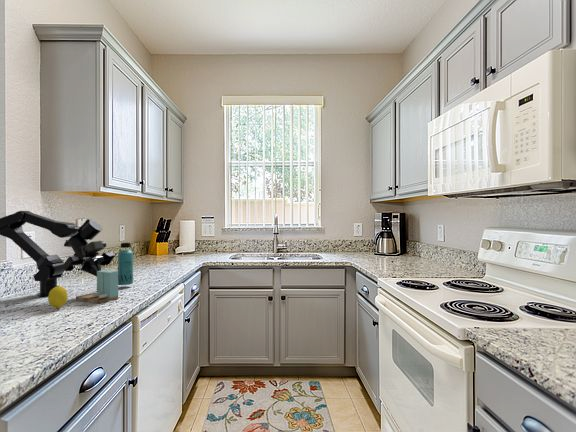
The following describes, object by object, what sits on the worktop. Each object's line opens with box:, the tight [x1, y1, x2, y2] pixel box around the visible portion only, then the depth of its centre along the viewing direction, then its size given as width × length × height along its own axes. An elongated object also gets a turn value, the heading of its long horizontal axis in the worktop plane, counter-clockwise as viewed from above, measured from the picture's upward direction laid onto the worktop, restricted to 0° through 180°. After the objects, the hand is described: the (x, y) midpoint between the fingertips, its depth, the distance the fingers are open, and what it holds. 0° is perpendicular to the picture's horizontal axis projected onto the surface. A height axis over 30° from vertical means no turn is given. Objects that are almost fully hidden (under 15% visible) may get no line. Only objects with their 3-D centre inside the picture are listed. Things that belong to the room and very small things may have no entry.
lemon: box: [47, 285, 69, 310], centre depth 114 cm, size 6×6×8 cm
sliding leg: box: [92, 269, 112, 297], centre depth 127 cm, size 4×6×10 cm, turn 157°
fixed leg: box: [99, 270, 119, 298], centre depth 125 cm, size 4×6×10 cm, turn 157°
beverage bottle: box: [117, 242, 134, 286], centre depth 149 cm, size 6×7×20 cm
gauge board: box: [75, 292, 119, 304], centre depth 127 cm, size 14×8×1 cm, turn 67°
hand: (100, 277), depth 129 cm, fingers closed
